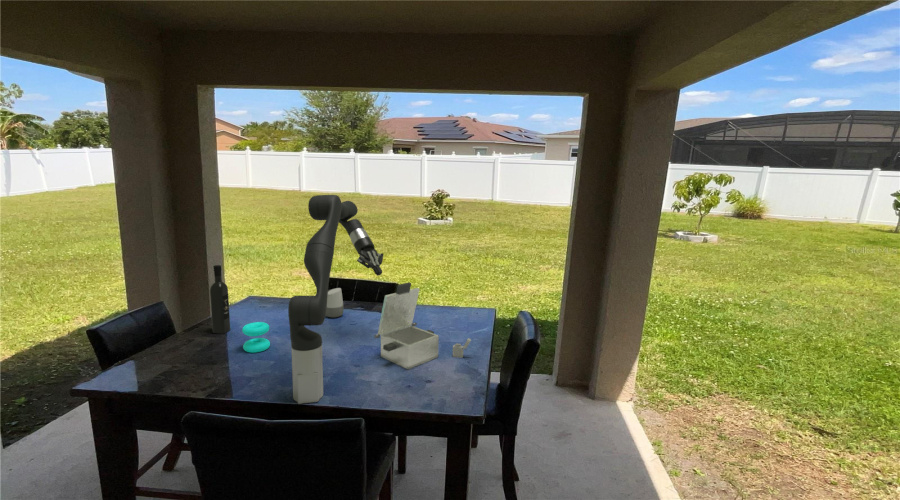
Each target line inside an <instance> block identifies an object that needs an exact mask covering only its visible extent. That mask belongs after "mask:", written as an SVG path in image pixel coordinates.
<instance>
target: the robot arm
mask: <svg viewBox="0 0 900 500" xmlns="http://www.w3.org/2000/svg"><path fill="white" fill-rule="evenodd" d="M307 204H308V205H307V206H308V213H309V216H310V218H312V219H313V220H315V221H324V224H323V225H322V226H321V227H320V228H319V229H318V231H317V232H315V233H314V234H313V236H312V237H310V239H309V240H308V242H307V244H306V246H305V252H304V257H303V264H304V266H305V269H306V270H307V272H308V274H309V276H310V277H311V279H312V281H313V283H314V286H315V288H316V294H315V295H293V296H292V297H291V298H290V299H289V302H288V308H287V309H288V311H287V312H288V323H289V334H290V335H289V338H290V343H291V344H290V345H291V370H292V371H291V372H292V377H291V378H292V398H293V400H294V401H295V402H296V403H297V404H298V405H301V404H308V403H316V402H319V401H320V399H321V398H323V396H324V377H323V376H324V373H323V370H324V367H323V365H324V364H323V362H324V361H323V338H322V335H321V334H320V333H318V332H316V331H313V330H311V329H310V328H308V327H306V326H321V325H323V323H324V322H325V319H326V317H327V316H326V309H327V296H328V291H329V285H330V284H329V282H330V277H331V272H332V271H331V270H332V265H333V259H334V253H335V245H336V244H335V243H336V238H337V231H338V226H339V224H340V225H341V226H342V227H343V229H344V230H345V231H346V233H347V235H348V237H349V238H350V241H351V243H352V245H353V247H354V249H355V252H357V254H358V255H359V257H358V258H357V260H356V261H357V262H358V263H359V264H361V265H362V266H364V267H365V268H367V269H372V270H373V272H374V274H375V275H376V276H382V274H383V269H382V268H381V264H382V263H383V260H384V256H385V255H384V253H383V252H381V253H380V252H378V250H376V249H375V245H374V242H373V241H372V239H371V236H369V234H368V232H367V231H366V230H365V227H364V226H363V225H362V222H361V221H360V220H359V219H357V218H353V217H355V216H356V215H357V214H358V210H359V209H358V207H357V205H356V204H355V202H354V201H350V200H344V201H342V199H341V197H340V196H339V195H337V194H320V195H313V196H312V197H310V199H309V200H308V203H307ZM352 218H353V219H352Z"/></svg>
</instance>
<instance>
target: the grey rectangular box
mask: <svg viewBox="0 0 900 500" xmlns="http://www.w3.org/2000/svg"><path fill="white" fill-rule="evenodd" d="M417 324H418V323H417V322H412V325H410V326H407V327H404V328H401V329H398V330H395V331H391V332H388V333H385V334H382V335H379V334H378V333H377V334H375V335H374V336H373V337H374V339H379V338H380V358H383V359H384V360H387V361H389V362H392V363H393V364H395V365H397V366H399V367H402V368H404V369H405V370H406V369H407V370H411V369H413V368H415V367H417V366H420V365H423V364H426V363H428V362H429V361H432V360H435V359H437V358H439V345H440V344H439V341H440V340H439V337H440V336H439V335H438V334H436V333H435V332H434V331H433V330H431V329H428V330H425V329H422V328H419V327H417Z"/></svg>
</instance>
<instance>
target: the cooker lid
mask: <svg viewBox="0 0 900 500" xmlns="http://www.w3.org/2000/svg"><path fill="white" fill-rule="evenodd" d="M411 287H412V283H411V282H404V283H400V284H397V287H396V291H395V292H394V293H390V294H385V295H384V299H383V304H382V308H381V309H382V310H381V315H380V321H379V326H378V331H377V334H379V335H380V336H381V335H383V334H386V333H389V332H392V331H395V330H398V329H401V328H405V327H408V326H412V323H414V322H413V320H414V317H415V312H416V308H417V302H418V298H419V293H420V288H419V287H415V288H411Z"/></svg>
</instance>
